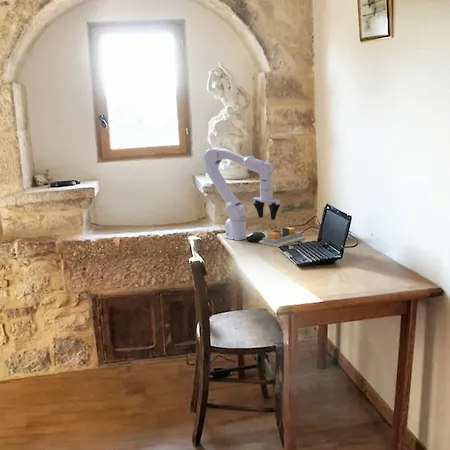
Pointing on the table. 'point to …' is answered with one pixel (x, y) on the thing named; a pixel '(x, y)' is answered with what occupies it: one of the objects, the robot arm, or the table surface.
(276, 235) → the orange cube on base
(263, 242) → the grey frame base
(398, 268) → the table surface
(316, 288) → the table surface
